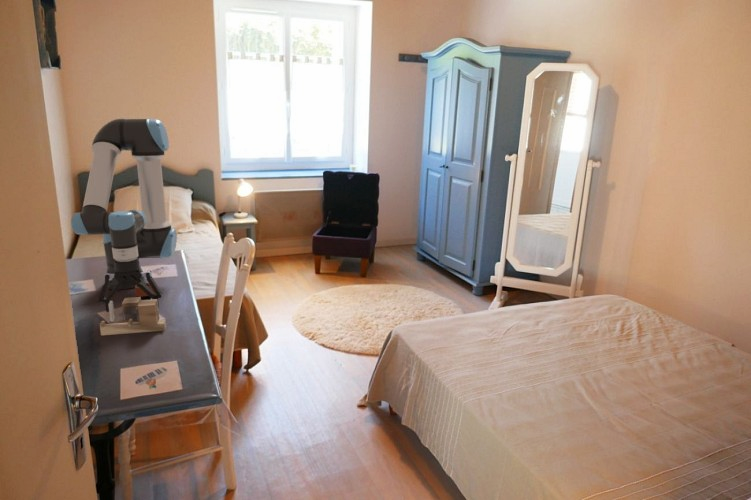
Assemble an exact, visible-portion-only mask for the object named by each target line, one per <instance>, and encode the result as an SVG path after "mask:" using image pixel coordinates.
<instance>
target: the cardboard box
mask: <svg viewBox="0 0 751 500" xmlns="http://www.w3.org/2000/svg"><path fill="white" fill-rule="evenodd" d="M140 301H141V297H136V296H135V297H124V299H123V301H122V302H121V308H122V316H123V323H128V321H129V319H132V321H133V322H138V321H137V313H136V308H137V306H138V305H139V303H140Z"/></svg>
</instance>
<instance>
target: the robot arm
mask: <svg viewBox="0 0 751 500" xmlns="http://www.w3.org/2000/svg"><path fill="white" fill-rule="evenodd" d="M168 150H169V136H168V131H167V129H166V127H165V125H164V123H163V122H162V121H161V120H159V119H155V118H154V119H153V118H152V119H151V118H115V119H113V120H110V121H109V122H107V123H105V124H104V125H103V126H102V127H101V128H100V129H99V130H98V131H97V132H96V134H95V137H94V138H93V140H92V145H91V151H92V153H93V155H92V161H91V165H90V169H89V176H88V180H87V184H86V188H85V189H86V190H85V195H84V199H83V204H82V209H81V211H79V212H74V213H73V214H72V216H71V219H70V225H71V229H72V231H73V232H74V233H75V234H76V235H78V236H79V235H83V236H90V235H93V236H94V235H102V239H103V243H102V244H103V248H104V249H103V250H104V254H105V262H106V270H105V275H104V278H103V286H102V289H101V292H100V294H99V296H98V300H97V301H98V303H104V307H105V312H106V313H109V320H110V322H111V323H112V322H114V320H115V319H116V315H115V309H114V301H113V300H111V299H112V298H113V297H114V295H115V294H116V293H117V291H118V290H128V289H135V286H136V285H137V286H138V287H140V288H141V289H142V290H143V291H144V292H145V293H146V294H147V295H148V296H149V297H150V298H151V300H152V299H158V300H159V299H161V298H162V297H163V292H162V290H161V288H160V287H159V285H158V284H157V282H156V281H155V279H154V278H153V276H152V272H151V270H147V271H143V268H142V267H141V265H140V259H166V258H171V257H173V256H174V254H175V251H176V248H177V247H176V246H177V240H178V239H177V238H178V236H177V235H178V234H177V229H176V228H173V227H172V224H171V222H170V221H168V220H167V213H166V211H167V209H166V202H165V191H164V189H165V188H164V179H163V178H164V177H163V169H162V168H163V167H162V159H163V158H164V157H165V152H167V151H168ZM122 151H130V152H131V153H130V154H131V157H133V158H134V159H135V160H136V166H137V178H138V187H139V196H140V205H141V211H140V210H138V209H129V210H118V211H114V212H112V211H111V212H109V211H108V207H109V203H110V202H109V201H110V196H111V191H112V185H113V181H114V180H113V179H114V174H115V169H116V163H117V160H118V158H120V157H121V154H122ZM146 281H147V282H148V283H149V284H150V286H151V287H152V289H153V290H154V292H155V293H156V294H155V293H154V292H153V291H152V290H151V289H150V288H149V287H148V286H147V285H145V284H144V283H147V282H146ZM108 289H109V290H111V292H110V293H109V294H108V295H107V297H105V296H106V293H107V291H108Z"/></svg>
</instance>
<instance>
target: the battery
mask: <svg viewBox="0 0 751 500" xmlns="http://www.w3.org/2000/svg"><path fill="white" fill-rule="evenodd" d="M144 284H145V285H147V286H148V287H149V288H150V289H151V290H152V291H153V292H154V290H153V289H152V287H151V286H150V284H149V283H148V281H147V282H145V283H144ZM134 289H135V290H134V293H135V297H141V300H151V298H150V297H149V296H148V295H147V294H146V293H145V292H144V291H143V290H142V289H141V288H140V287H138V286H137V285H136V286H135V287H134ZM154 293H155V292H154ZM155 294H156V293H155ZM157 301H158V308H160V307H159V306H160V305H159V298H158V299H157Z"/></svg>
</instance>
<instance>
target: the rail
mask: <svg viewBox="0 0 751 500" xmlns="http://www.w3.org/2000/svg"><path fill="white" fill-rule="evenodd" d="M158 303H159V300H158V301H157V299H152V300H141V301H140V303H139V305H138V306H137V308H136V313H137V321H138V322H133V321H132V319H129V321H128V323H124V322H117V323H106V322H105V320H101V322H100V323H99V330H100V332H99V333H100V336H111V335H112V336H113V335H114V336H115V335H125V334H134V333H135V334H137V333H147V332H149V333H150V332H151V333H152V332H162V331H166V328H167V323H166V322H167V321H166V319H160V311H159V307H158Z"/></svg>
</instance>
